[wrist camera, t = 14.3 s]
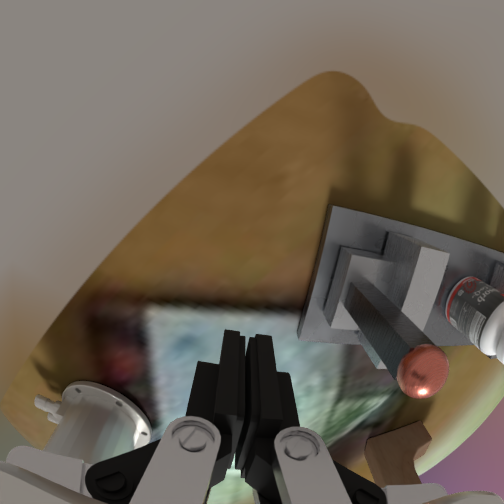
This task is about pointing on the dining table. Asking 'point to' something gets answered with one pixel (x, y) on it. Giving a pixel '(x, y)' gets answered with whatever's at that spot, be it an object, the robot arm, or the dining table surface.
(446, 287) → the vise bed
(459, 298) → the pill bottle
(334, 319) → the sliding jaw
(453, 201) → the dining table surface
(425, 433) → the wooden block
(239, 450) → the robot arm
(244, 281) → the dining table surface
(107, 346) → the dining table surface
